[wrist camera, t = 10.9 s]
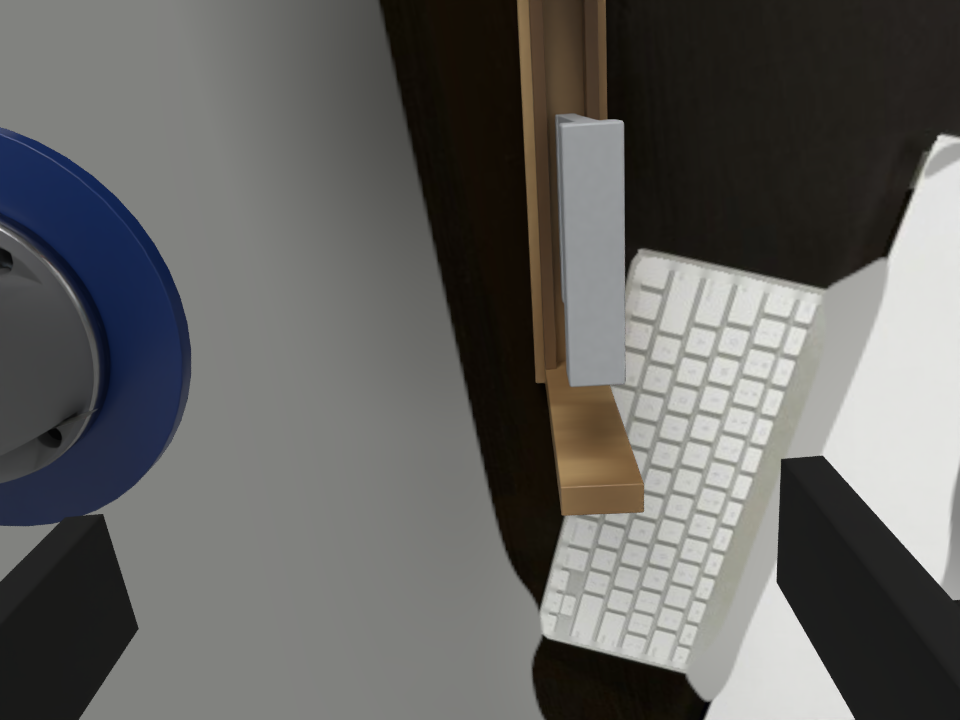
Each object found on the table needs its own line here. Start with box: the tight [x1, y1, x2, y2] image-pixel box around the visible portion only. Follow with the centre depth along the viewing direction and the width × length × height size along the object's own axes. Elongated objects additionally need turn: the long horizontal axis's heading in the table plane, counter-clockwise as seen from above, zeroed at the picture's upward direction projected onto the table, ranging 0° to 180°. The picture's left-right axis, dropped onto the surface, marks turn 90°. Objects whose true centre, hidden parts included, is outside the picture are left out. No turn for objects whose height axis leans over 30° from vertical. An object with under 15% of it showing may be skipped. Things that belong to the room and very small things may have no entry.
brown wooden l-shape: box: [517, 0, 644, 516], centre depth 31 cm, size 4×22×15 cm, turn 4°
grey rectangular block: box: [555, 113, 626, 387], centre depth 31 cm, size 2×9×12 cm, turn 4°
